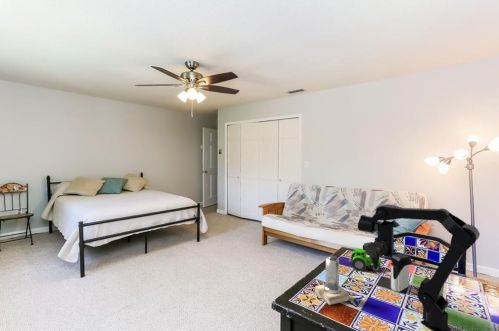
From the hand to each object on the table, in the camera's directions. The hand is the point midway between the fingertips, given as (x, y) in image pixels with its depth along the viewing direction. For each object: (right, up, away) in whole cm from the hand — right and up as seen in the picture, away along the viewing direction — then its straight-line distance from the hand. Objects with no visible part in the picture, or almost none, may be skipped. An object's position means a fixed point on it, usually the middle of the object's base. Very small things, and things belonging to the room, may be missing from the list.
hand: (385, 273), depth 102 cm
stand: (-19, -13, +7) cm, 24 cm away
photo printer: (+14, -13, +14) cm, 24 cm away
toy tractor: (+8, -12, +35) cm, 38 cm away
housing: (-19, -10, +7) cm, 23 cm away
